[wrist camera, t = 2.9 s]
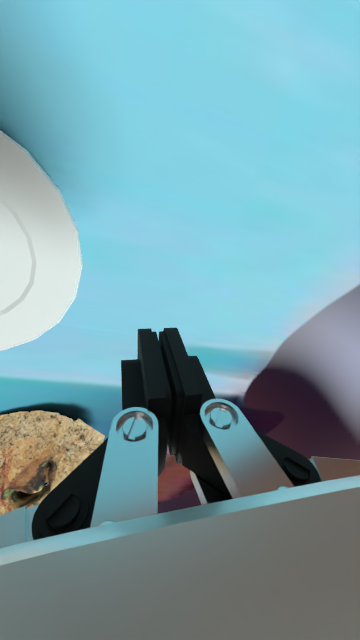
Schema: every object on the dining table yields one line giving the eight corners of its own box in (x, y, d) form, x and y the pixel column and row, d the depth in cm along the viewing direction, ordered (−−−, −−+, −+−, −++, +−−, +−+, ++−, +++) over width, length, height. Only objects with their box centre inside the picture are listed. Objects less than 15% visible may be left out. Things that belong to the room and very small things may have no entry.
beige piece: (36, 364, 33) (13, 384, 25) (125, 423, 37) (128, 456, 29) (-65, 480, 31) (-120, 538, 24) (39, 530, 35) (19, 593, 28)
